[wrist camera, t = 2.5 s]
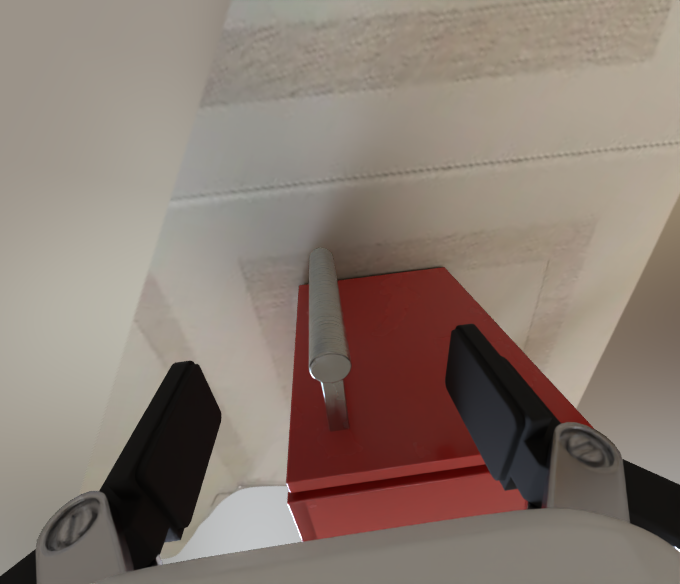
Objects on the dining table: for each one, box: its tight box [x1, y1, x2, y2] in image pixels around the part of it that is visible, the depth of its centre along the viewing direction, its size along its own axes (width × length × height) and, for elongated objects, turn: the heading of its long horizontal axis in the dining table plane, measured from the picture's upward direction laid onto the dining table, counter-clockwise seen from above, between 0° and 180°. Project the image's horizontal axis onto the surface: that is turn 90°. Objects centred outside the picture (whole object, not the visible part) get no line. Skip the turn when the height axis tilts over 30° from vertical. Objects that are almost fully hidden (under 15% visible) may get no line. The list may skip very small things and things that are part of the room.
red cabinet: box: [287, 464, 525, 542], centre depth 21 cm, size 12×13×16 cm
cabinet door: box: [286, 248, 594, 493], centre depth 17 cm, size 5×12×16 cm, turn 95°
